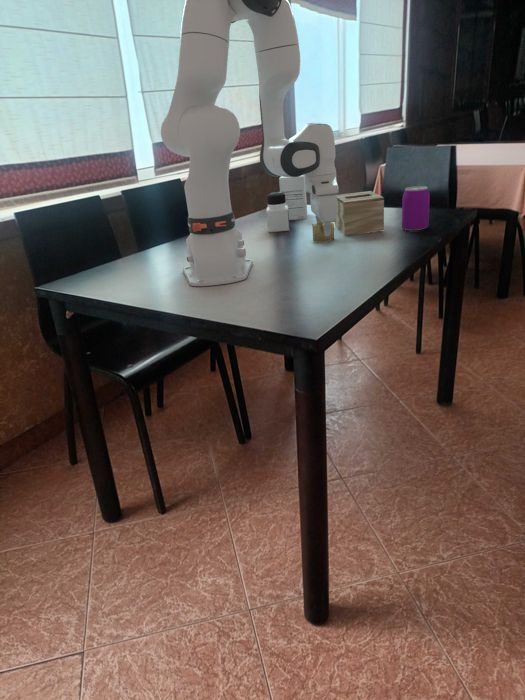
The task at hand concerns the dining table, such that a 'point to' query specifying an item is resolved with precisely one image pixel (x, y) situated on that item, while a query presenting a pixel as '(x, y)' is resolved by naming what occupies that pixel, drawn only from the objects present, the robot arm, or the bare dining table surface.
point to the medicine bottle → (277, 212)
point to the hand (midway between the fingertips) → (323, 232)
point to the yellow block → (319, 234)
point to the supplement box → (294, 196)
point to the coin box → (360, 213)
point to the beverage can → (415, 208)
